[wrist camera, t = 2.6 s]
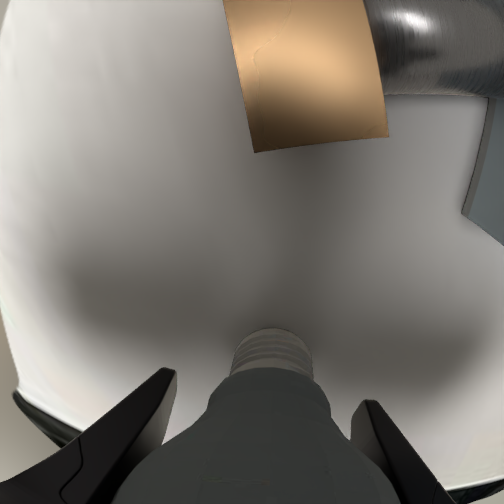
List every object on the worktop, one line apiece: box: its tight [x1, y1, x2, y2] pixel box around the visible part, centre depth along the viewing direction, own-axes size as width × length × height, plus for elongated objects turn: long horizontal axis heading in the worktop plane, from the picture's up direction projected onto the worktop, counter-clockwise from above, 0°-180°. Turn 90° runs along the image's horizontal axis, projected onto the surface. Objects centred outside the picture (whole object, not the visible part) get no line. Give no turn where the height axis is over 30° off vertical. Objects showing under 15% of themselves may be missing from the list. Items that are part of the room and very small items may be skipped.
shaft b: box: [223, 0, 504, 153], centre depth 4 cm, size 7×4×4 cm, turn 101°
